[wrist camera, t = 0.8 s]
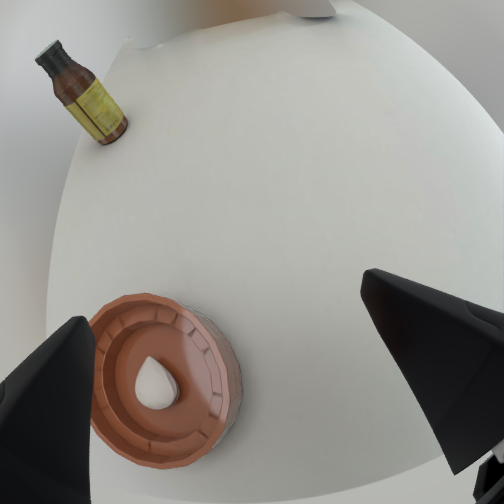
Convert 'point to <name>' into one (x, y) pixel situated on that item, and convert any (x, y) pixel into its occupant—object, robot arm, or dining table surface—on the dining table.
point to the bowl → (182, 369)
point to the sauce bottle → (82, 94)
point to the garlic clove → (156, 385)
